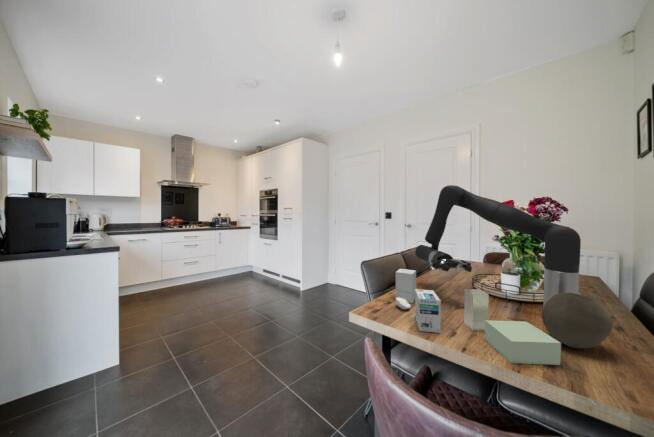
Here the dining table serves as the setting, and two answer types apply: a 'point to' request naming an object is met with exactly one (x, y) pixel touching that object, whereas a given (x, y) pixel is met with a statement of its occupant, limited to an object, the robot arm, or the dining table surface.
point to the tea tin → (476, 309)
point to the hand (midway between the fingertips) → (459, 269)
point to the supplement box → (406, 284)
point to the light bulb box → (427, 310)
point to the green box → (522, 342)
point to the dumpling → (402, 303)
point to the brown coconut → (576, 320)
